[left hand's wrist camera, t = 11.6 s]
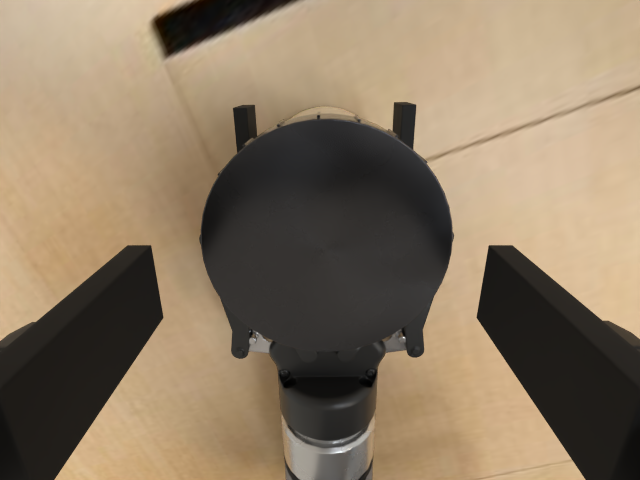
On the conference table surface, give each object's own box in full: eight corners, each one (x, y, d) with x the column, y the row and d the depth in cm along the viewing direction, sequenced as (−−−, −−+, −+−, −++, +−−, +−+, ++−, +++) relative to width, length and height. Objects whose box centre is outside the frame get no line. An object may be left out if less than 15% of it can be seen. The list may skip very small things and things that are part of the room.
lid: (174, 162, 16) (150, 175, 14) (401, 72, 15) (415, 70, 13) (268, 344, 20) (261, 378, 17) (460, 284, 18) (479, 312, 16)
